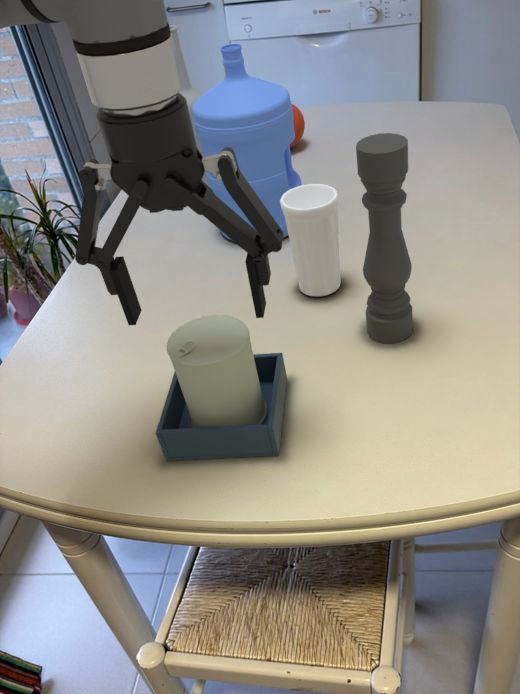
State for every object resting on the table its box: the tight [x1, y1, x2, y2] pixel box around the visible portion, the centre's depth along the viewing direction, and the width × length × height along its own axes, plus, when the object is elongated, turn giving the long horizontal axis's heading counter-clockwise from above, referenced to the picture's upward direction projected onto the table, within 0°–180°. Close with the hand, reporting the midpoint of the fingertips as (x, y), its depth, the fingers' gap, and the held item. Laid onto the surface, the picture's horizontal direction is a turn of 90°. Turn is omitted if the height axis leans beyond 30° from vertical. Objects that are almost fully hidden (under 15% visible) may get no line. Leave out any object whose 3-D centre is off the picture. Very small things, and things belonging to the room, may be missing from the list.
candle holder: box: [355, 132, 414, 344], centre depth 79 cm, size 6×6×25 cm
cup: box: [280, 183, 342, 297], centre depth 93 cm, size 8×8×14 cm
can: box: [166, 314, 267, 428], centre depth 74 cm, size 9×9×12 cm
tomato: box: [289, 100, 306, 149], centre depth 135 cm, size 10×10×10 cm
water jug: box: [192, 43, 303, 242], centre depth 105 cm, size 16×16×28 cm
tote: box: [154, 352, 288, 462], centre depth 77 cm, size 13×13×4 cm
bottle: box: [169, 24, 209, 186], centre depth 118 cm, size 7×7×28 cm
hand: (197, 314), depth 68 cm, fingers open, 13 cm apart
